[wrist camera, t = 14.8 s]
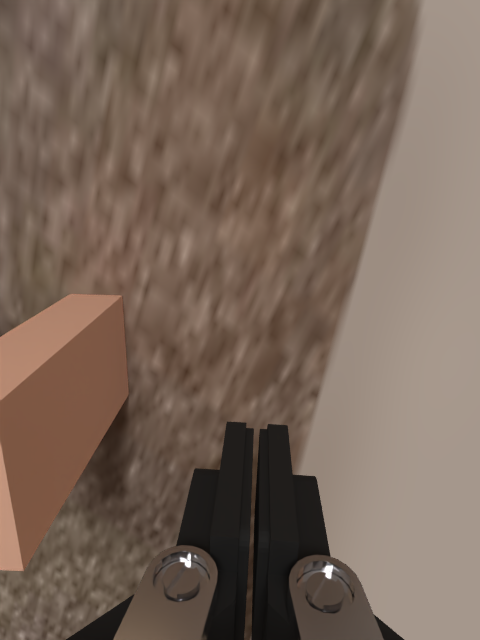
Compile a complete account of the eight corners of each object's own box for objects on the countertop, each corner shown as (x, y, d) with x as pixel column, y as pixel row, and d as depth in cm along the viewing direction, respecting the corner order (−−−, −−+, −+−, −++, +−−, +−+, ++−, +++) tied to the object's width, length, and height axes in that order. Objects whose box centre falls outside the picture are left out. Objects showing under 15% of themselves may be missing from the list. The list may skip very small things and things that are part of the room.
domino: (80, 392, 21) (-64, 566, 12) (70, 294, 20) (-107, 402, 10) (129, 394, 21) (23, 571, 12) (122, 295, 19) (-6, 406, 10)
